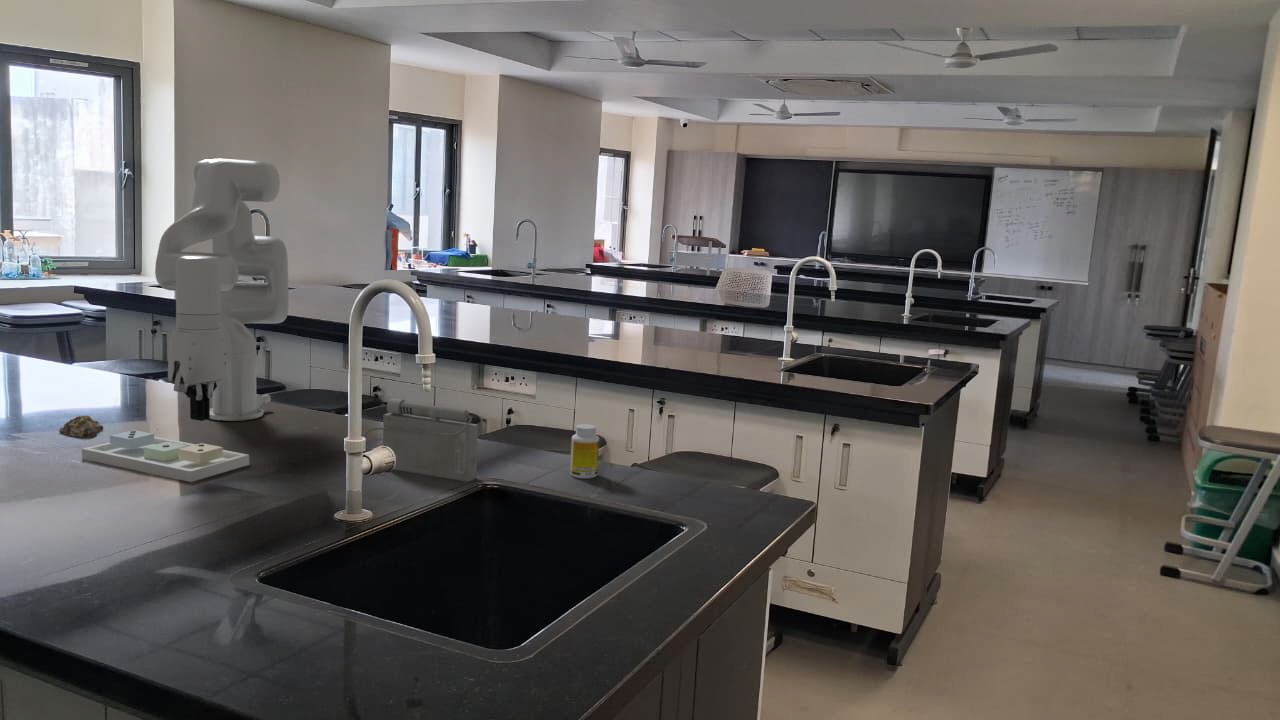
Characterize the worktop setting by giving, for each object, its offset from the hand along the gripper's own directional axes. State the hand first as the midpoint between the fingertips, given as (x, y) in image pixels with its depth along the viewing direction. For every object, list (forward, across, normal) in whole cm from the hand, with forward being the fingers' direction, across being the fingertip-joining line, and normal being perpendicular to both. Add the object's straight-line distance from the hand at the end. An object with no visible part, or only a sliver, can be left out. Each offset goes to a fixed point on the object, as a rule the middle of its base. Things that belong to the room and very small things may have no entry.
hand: (200, 419), depth 179 cm
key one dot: (+9, 0, -9) cm, 13 cm away
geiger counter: (+10, -21, +34) cm, 41 cm away
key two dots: (+8, 0, 0) cm, 8 cm away
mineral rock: (+10, -7, -41) cm, 43 cm away
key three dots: (+8, 0, -18) cm, 20 cm away
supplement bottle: (+10, -37, +63) cm, 74 cm away
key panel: (+10, 0, -9) cm, 13 cm away
